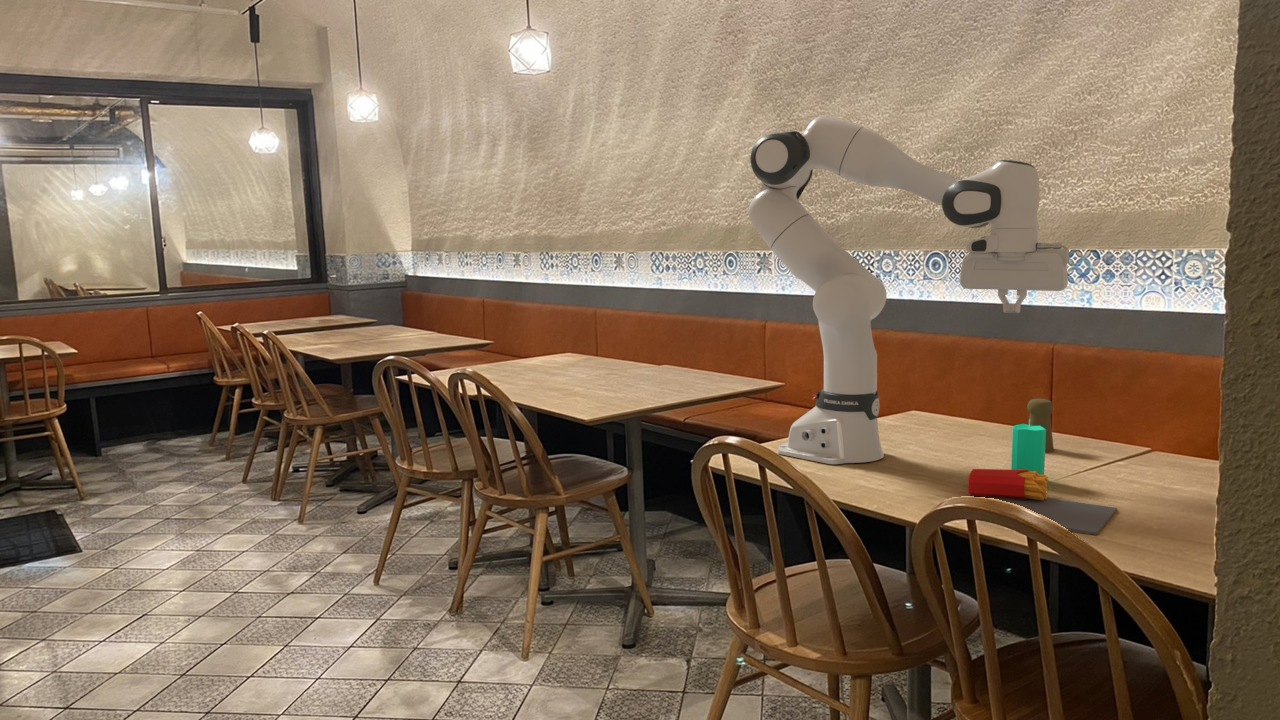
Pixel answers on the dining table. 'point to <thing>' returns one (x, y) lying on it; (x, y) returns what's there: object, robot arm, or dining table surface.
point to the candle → (1028, 448)
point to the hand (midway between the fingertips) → (1011, 312)
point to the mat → (1069, 513)
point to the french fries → (1007, 484)
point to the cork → (1042, 418)
